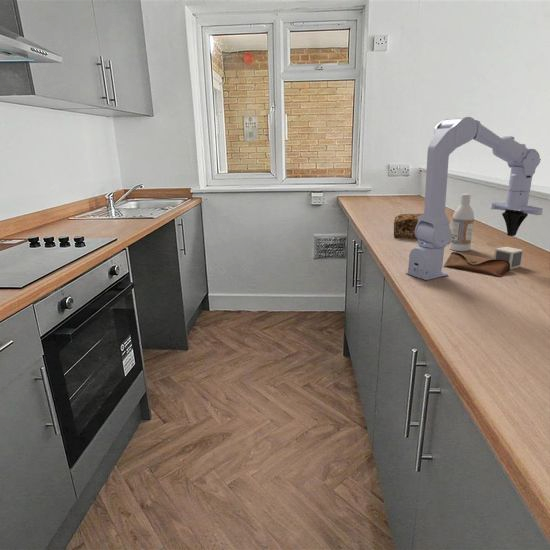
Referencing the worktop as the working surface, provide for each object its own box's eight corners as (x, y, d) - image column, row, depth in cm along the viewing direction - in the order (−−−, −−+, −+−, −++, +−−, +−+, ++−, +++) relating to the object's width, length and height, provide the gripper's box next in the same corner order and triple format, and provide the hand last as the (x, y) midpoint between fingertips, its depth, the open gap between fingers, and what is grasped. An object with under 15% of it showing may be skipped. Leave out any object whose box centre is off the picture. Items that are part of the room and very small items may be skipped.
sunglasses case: (440, 266, 129) (446, 247, 130) (445, 273, 135) (451, 254, 135) (502, 277, 118) (508, 256, 119) (506, 284, 123) (512, 263, 124)
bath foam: (462, 252, 145) (469, 195, 139) (445, 248, 151) (451, 194, 145) (473, 249, 149) (481, 194, 143) (456, 246, 154) (463, 192, 148)
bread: (441, 236, 172) (443, 212, 169) (440, 241, 162) (443, 216, 159) (395, 233, 179) (397, 210, 176) (392, 238, 169) (393, 214, 166)
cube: (510, 270, 125) (512, 252, 124) (492, 265, 130) (495, 248, 128) (520, 267, 128) (523, 250, 126) (503, 262, 133) (505, 246, 131)
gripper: (551, 191, 117) (543, 238, 121) (503, 187, 129) (497, 230, 133) (537, 193, 114) (529, 241, 118) (489, 189, 126) (483, 232, 130)
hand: (511, 235), depth 126 cm, fingers closed
